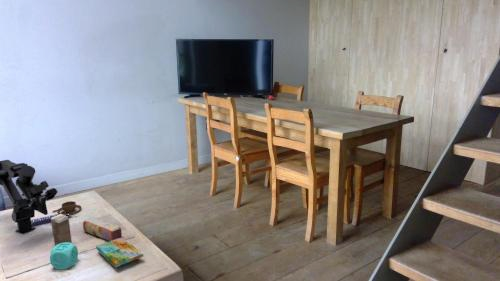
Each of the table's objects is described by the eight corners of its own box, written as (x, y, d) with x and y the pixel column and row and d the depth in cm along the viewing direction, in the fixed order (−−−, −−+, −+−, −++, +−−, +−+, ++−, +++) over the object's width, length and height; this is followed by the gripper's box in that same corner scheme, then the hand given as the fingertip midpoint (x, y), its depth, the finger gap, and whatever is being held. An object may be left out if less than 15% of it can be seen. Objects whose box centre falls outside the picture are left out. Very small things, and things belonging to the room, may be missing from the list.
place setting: (91, 209, 218) (89, 199, 216) (65, 225, 199) (64, 214, 197) (64, 206, 222) (62, 196, 221) (36, 221, 203) (35, 211, 202)
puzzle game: (121, 235, 177) (143, 252, 163) (122, 244, 179) (143, 262, 164) (95, 244, 170) (115, 262, 155) (97, 253, 171) (116, 273, 156)
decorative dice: (79, 259, 167) (76, 241, 165) (71, 269, 159) (68, 251, 157) (60, 259, 166) (57, 242, 164) (51, 270, 159) (48, 252, 157)
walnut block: (54, 247, 176) (50, 218, 173) (64, 242, 181) (60, 213, 177) (62, 249, 174) (58, 220, 171) (72, 244, 179) (68, 216, 175)
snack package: (123, 238, 184) (122, 224, 183) (112, 244, 179) (110, 230, 177) (94, 227, 195) (93, 214, 194) (82, 233, 190) (81, 220, 188)
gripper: (13, 183, 168) (33, 212, 166) (52, 171, 184) (71, 197, 182) (5, 198, 174) (24, 226, 172) (43, 184, 190) (62, 210, 188)
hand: (46, 214), depth 178 cm, fingers closed
